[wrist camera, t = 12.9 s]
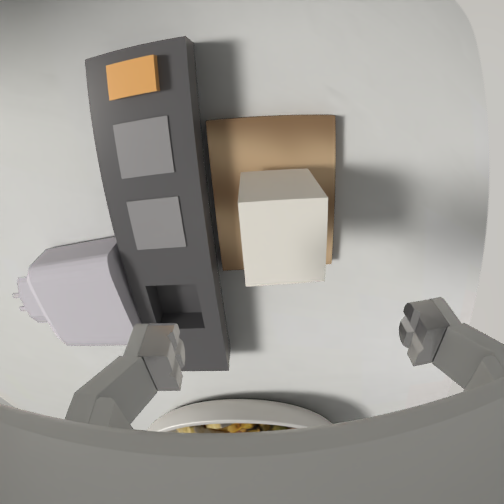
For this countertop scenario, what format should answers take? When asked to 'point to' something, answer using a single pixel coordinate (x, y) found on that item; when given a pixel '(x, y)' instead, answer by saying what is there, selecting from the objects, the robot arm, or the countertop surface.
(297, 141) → the cork mat
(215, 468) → the robot arm
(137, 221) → the power strip
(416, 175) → the countertop surface
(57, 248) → the charger
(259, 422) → the bowl
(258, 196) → the charger
